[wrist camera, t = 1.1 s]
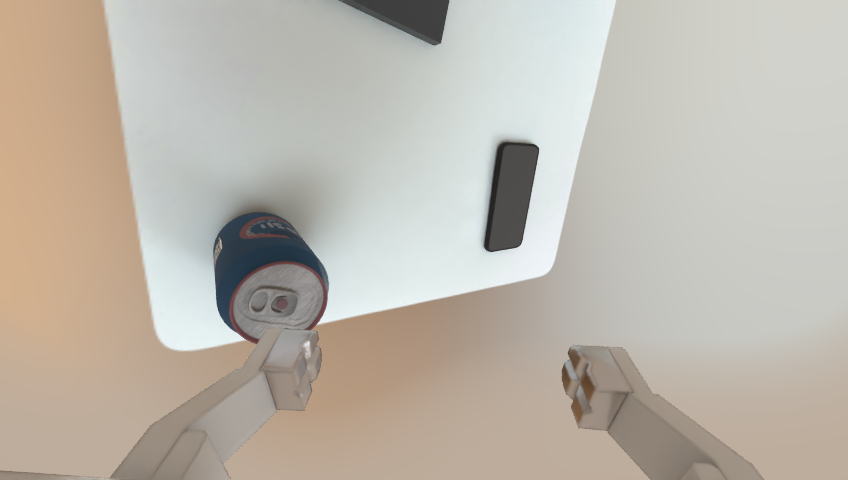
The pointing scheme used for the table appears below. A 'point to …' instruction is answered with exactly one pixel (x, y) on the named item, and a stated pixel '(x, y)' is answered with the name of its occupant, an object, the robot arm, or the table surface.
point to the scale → (408, 15)
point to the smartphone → (511, 195)
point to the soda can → (267, 277)
